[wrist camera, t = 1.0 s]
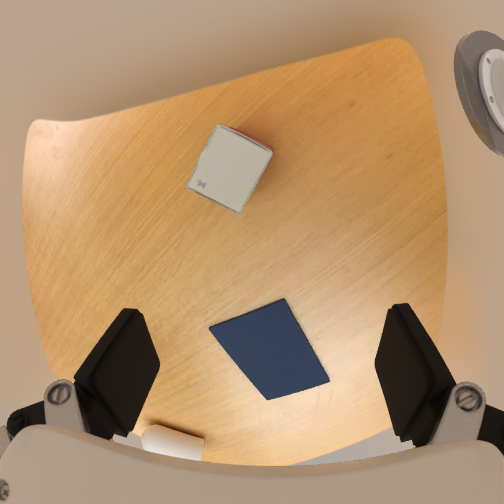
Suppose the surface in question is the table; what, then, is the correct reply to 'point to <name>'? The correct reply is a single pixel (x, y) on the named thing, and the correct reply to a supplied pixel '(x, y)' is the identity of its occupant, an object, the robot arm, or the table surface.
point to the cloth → (271, 350)
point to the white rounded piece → (172, 443)
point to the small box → (229, 167)
